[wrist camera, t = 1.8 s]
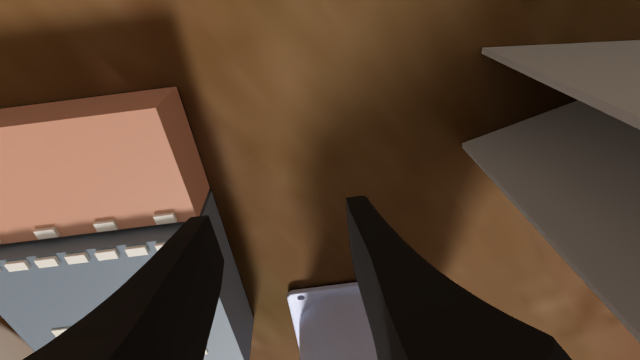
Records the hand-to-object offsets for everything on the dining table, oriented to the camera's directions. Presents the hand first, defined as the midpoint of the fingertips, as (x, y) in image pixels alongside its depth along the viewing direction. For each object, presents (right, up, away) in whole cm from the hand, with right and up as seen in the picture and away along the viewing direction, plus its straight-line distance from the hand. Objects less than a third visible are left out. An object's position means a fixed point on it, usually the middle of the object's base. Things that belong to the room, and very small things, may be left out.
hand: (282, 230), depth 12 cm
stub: (-11, +3, +7) cm, 14 cm away
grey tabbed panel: (-10, -5, +12) cm, 17 cm away
